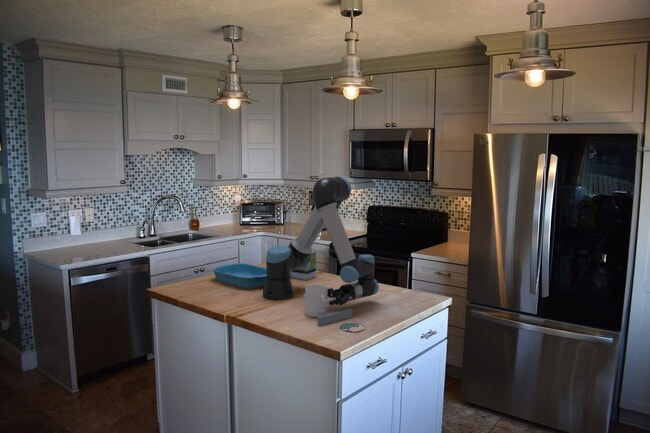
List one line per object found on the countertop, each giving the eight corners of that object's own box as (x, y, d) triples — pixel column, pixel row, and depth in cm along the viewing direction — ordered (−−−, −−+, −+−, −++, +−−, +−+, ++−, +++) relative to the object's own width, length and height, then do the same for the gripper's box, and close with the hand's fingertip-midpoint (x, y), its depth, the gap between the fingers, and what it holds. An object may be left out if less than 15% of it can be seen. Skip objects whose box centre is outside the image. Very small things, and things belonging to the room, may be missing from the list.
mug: (316, 309, 231) (317, 283, 229) (335, 315, 222) (336, 289, 221) (300, 313, 224) (301, 287, 223) (319, 320, 216) (320, 293, 214)
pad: (342, 333, 202) (342, 332, 202) (337, 324, 212) (337, 323, 212) (367, 331, 204) (367, 330, 204) (361, 323, 214) (361, 322, 213)
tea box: (316, 277, 288) (316, 250, 286) (306, 280, 280) (306, 253, 278) (294, 273, 296) (294, 247, 294) (283, 276, 288) (283, 250, 286)
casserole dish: (205, 280, 280) (205, 267, 279) (238, 272, 296) (238, 260, 295) (250, 293, 255) (250, 279, 254) (282, 284, 272) (283, 271, 271)
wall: (319, 326, 209) (319, 317, 209) (317, 325, 211) (317, 316, 210) (352, 317, 221) (352, 309, 220) (349, 316, 222) (350, 308, 222)
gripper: (369, 306, 226) (331, 316, 212) (332, 293, 244) (295, 302, 230) (369, 289, 225) (331, 298, 211) (332, 278, 243) (295, 285, 229)
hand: (313, 300), depth 220 cm, fingers closed on mug, 12 cm apart
